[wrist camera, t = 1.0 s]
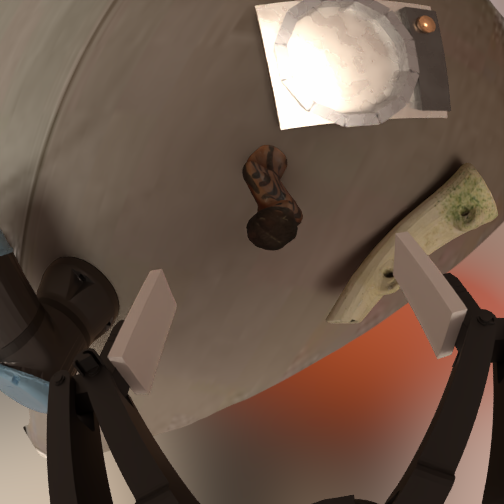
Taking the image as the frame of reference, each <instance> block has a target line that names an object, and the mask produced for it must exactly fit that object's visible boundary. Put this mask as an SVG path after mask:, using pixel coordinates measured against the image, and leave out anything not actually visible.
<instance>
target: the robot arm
mask: <svg viewBox="0 0 504 504" xmlns="http://www.w3.org/2000/svg"><path fill="white" fill-rule="evenodd" d="M393 276H394V277H395V279H396V281H397V282H398V284H399V286H400V288H401V289H402V291H403V293H404V295H405V297H406V298H407V300H408V302H409V304H410V306H411V308H412V309H413V311H414V313H415V315H416V317H417V319H418V321H419V322H420V325H421V326H422V328H423V330H424V332H425V334H426V336H427V338H428V340H429V342H430V344H431V346H432V348H433V350H434V352H435V355H436V357H437V359H439V358H442V357H445V356H448V355H451V354H452V352H453V349H454V346H455V347H456V348H457V350H458V354H457V356H456V359H455V361H454V363H453V366H452V367H453V368H452V371H451V374H450V377H449V380H448V383H447V385H446V388H445V390H444V393H443V396H442V398H441V400H440V403H439V405H438V408H437V410H436V413H435V415H434V417H433V419H432V421H431V424H430V426H429V428H428V430H427V432H426V434H425V436H424V438H423V440H422V442H421V444H420V446H419V448H418V450H417V452H416V454H415V456H414V458H413V459H412V461H411V463H410V465H409V467H408V468H407V470H406V472H405V474H404V475H403V477H402V479H401V480H400V482H399V483H398V485H397V486H396V488H395V489H394V491H393V492H392V493H391V495H390V496H389V498H388V499H387V501H386V503H385V504H444V502H445V500H446V498H447V496H448V494H449V492H450V490H451V488H452V486H453V483H454V480H455V475H454V474H455V471H456V468H457V466H458V463H459V461H460V459H461V457H462V454H463V452H464V449H465V447H466V444H467V441H468V439H469V436H470V433H471V431H472V428H473V424H474V422H475V419H476V416H477V413H478V409H479V406H480V403H481V399H482V396H483V392H484V388H485V384H486V380H487V376H488V372H489V367H490V363H493V384H494V402H493V404H494V405H493V427H492V440H491V450H490V458H489V466H488V472H487V479H486V484H485V490H484V494H483V500H482V504H504V318H496V317H495V315H494V314H493V313H492V312H490V311H488V310H484V309H480V308H479V306H478V305H477V303H476V302H475V300H474V299H473V298H472V296H471V295H470V294H469V292H467V290H466V288H465V287H464V286H463V285H462V283H461V282H460V281H459V280H458V278H457V277H455V276H454V275H452V274H451V273H446V274H442V273H441V272H440V271H439V269H438V268H437V267H436V266H435V264H434V263H433V262H432V260H431V259H430V258H429V257H428V255H427V254H426V253H425V252H424V250H423V249H422V248H421V247H420V246H419V244H418V243H417V242H416V241H415V240H414V238H413V237H412V236H411V235H410V234H409V233H408V231H407V232H401V233H395V253H394V269H393ZM176 308H177V304H176V302H175V300H174V297H173V295H172V292H171V290H170V288H169V285H168V283H167V280H166V278H165V275H164V273H163V270H162V269H157V270H151V271H150V272H149V274H148V276H147V278H146V279H145V281H144V283H143V285H142V287H141V289H140V291H139V293H138V295H137V297H136V299H135V301H134V303H133V305H132V307H131V309H130V311H129V313H128V315H127V317H126V319H125V320H120V321H119V322H118V323H117V324H116V325H115V326H114V327H113V329H112V331H111V333H110V336H109V337H108V340H107V342H106V344H105V346H104V348H103V350H102V352H101V354H100V356H99V355H98V354H97V352H96V351H95V350H94V349H91V348H89V346H90V345H91V344H92V343H93V342H94V341H95V340H97V339H98V338H99V337H100V336H101V335H103V334H104V333H105V332H106V331H108V330H109V329H110V328H111V326H112V325H113V323H114V321H115V319H116V317H117V315H118V312H119V302H118V298H117V295H116V293H115V290H114V289H113V287H112V285H111V284H110V282H109V281H108V280H107V279H106V277H105V276H104V275H103V274H102V273H101V272H100V271H98V270H97V269H96V268H95V267H93V266H92V265H90V264H89V263H87V262H85V261H83V260H80V259H77V258H72V257H63V258H59V259H57V260H55V261H54V262H53V263H52V264H51V265H50V266H49V267H48V268H47V270H46V271H45V273H44V274H43V277H42V280H41V283H40V286H39V289H38V291H37V295H36V294H35V292H34V291H33V289H32V287H31V285H30V284H29V282H28V280H27V278H26V276H25V275H24V273H23V271H22V269H21V267H20V265H19V263H18V261H17V259H16V257H15V255H14V253H13V248H11V247H10V245H9V243H8V242H7V240H6V238H5V236H4V234H3V232H2V230H1V228H0V390H1V391H2V392H3V393H4V394H6V395H7V396H9V397H10V398H12V399H13V400H15V401H16V402H18V403H20V404H21V405H23V406H25V407H27V408H29V409H32V410H34V411H37V412H41V413H46V414H47V468H48V483H49V495H50V504H113V501H112V497H111V493H110V488H109V483H108V478H107V473H106V467H105V462H104V456H103V449H102V442H101V435H100V427H101V430H102V432H103V434H104V437H105V439H106V441H107V444H108V446H109V448H110V450H111V452H112V455H113V457H114V459H115V461H116V463H117V465H118V467H119V469H120V471H121V473H122V475H123V477H124V479H125V481H126V483H127V485H128V486H129V488H130V490H131V492H132V494H133V495H134V497H135V499H136V503H135V504H200V503H199V502H198V501H197V500H196V498H195V497H194V496H193V494H192V493H191V492H190V490H189V489H188V488H187V486H186V485H185V484H184V482H183V481H182V480H181V478H180V477H179V475H178V474H177V472H176V471H175V470H174V468H173V467H172V465H171V464H170V462H169V461H168V459H167V458H166V456H165V455H164V453H163V452H162V450H161V449H160V447H159V445H158V444H157V442H156V441H155V439H154V438H153V436H152V434H151V433H150V431H149V429H148V428H147V426H146V424H145V422H144V421H143V419H142V417H141V415H140V414H139V412H138V410H137V408H136V406H135V405H134V403H133V401H132V399H131V397H130V396H129V395H128V391H129V388H131V390H132V391H133V392H134V393H135V394H139V395H149V393H150V390H151V386H152V383H153V380H154V376H155V373H156V370H157V366H158V363H159V360H160V357H161V354H162V351H163V347H164V344H165V341H166V338H167V335H168V332H169V329H170V326H171V323H172V320H173V317H174V314H175V311H176ZM88 348H89V349H88ZM77 371H78V372H79V374H78V375H76V373H77ZM99 425H100V427H99ZM313 504H377V503H375V502H372V501H368V500H361V499H354V495H349V496H344V497H338V498H332V499H325V500H322V501H319V502H316V503H313Z"/></svg>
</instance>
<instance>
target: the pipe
mask: <svg viewBox="0 0 504 504" xmlns="http://www.w3.org/2000/svg"><path fill="white" fill-rule="evenodd" d="M497 215H498V211H497V208H496V204H495V201H494V199H493V196H492V194H491V192H490V190H489V189H488V187H487V185H486V183H485V182H484V180H483V178H482V177H481V175H480V174H479V173H478V172H477V170H476V169H475V168H474V167H473V165H472V164H470V163H465V164H463V165H462V166H461V167H460V168H459V169H458V171H457V172H456V173H455V174H454V175H453V176H452V177H451V178H450V179H449V180H448V181H447V182H446V183H445V184H444V185H443V186H441V187H440V188H439V189H438V190H437V191H435V192H434V193H433V194H432V195H431V196H430V197H428V198H427V199H426V200H425V201H424V202H422V203H421V204H420V205H419V206H418V207H416V208H415V209H414V210H413V211H412V212H410V213H409V214H408V215H407V216H406V217H404V218H403V219H402V220H401V221H400V222H399V223H398V224H397V225H396V226H395V227H394V228H393V229H392V230H391V231H390V232H389V233H388V234H387V235H386V236H385V237H384V238H383V239H382V240H381V241H380V242H379V243H378V244H377V245H376V246H375V247H374V249H373V250H372V251H371V252H370V253H369V255H368V256H367V257H366V258H365V260H364V261H363V262H362V264H361V265H360V266H359V268H358V269H357V270H356V272H355V273H354V274H353V275H352V277H351V278H350V280H349V282H348V283H347V285H346V287H345V288H344V290H343V292H342V293H341V295H340V297H339V298H338V300H337V302H336V303H335V305H334V306H333V308H332V310H331V312H330V313H329V315H328V317H327V318H326V321H327V322H329V323H332V324H335V323H347V324H354V323H360V322H361V321H362V320H363V319H364V318H365V316H366V315H367V314H368V313H369V312H370V310H371V309H372V308H373V307H374V306H375V305H376V303H377V302H378V301H379V300H380V299H381V298H382V297H383V295H386V294H391V293H394V292H396V291H397V290H398V289H399V288H400V286H399V284H398V282H397V281H396V279H395V277H394V276H393V269H394V253H395V233H401V232H407V231H408V233H409V234H410V235H411V236H412V237H413V238H414V240H415V241H416V242H417V243H418V244H419V246H420V247H421V248H422V249H423V250H424V252H425V253H426V254H427V255H429V254H431V253H432V252H434V251H435V250H437V249H438V248H440V247H441V246H443V245H444V244H446V243H448V242H449V241H451V240H453V239H454V238H456V237H458V236H460V235H461V234H463V233H466V232H468V231H470V230H472V229H475V228H477V227H478V226H481V225H483V224H485V223H488V222H490V221H492V220H494V219H495V218H496V217H497Z"/></svg>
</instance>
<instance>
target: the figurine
mask: <svg viewBox="0 0 504 504" xmlns="http://www.w3.org/2000/svg"><path fill="white" fill-rule="evenodd" d="M286 167H287V159H286V157H285V155H284V154H283V153H282V152H281V151H280V150H279V149H277V148H275V147H274V146H271V145H264V146H261V147H260V148H258V149H257V150H256V151H255V152H254V153H253V154H252V155H251V156H250V157H249V159H248V161H247V163H246V164H245V165H244V167H243V170H242V174H243V177H244V180H245V181H246V183H247V185H248V187H249V189H250V191H251V193H252V195H253V197H254V198H255V200H256V202H257V204H258V212H257V213H256V214H255V215H254V216H253V217H252V218H251V219H250V220H249V222H248V224H247V227H246V228H247V233H248V238H249V240H250V241H251V242H252V243H253V244H254V245H255V246H257V247H259V248H263V249H265V250H278V249H281V248H283V247H284V246H285V245H286V244H287V243H288V242H290V241H292V240H293V239H294V238H295V237H296V234H297V226H298V225H299V224H300V223H301V221H302V218H303V215H302V212H301V210H300V208H299V207H298V205H297V204H296V202H295V200H294V199H293V198H292V197H291V196H290V194H289V193H288V191H287V190H286V189H285V187H284V186H283V184H282V182H281V180H280V178H281V177H282V175H283V173H284V171H285V169H286Z"/></svg>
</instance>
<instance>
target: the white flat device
mask: <svg viewBox="0 0 504 504" xmlns="http://www.w3.org/2000/svg"><path fill="white" fill-rule="evenodd" d="M255 11H256V18H257V22H258V27H259V31H260V35H261V40H262V44H263V49H264V53H265V58H266V63H267V68H268V72H269V77H270V82H271V87H272V92H273V97H274V102H275V108H276V113H277V118H278V124H279V127H280V129H281V130H283V129H289V128H296V127H304V126H312V125H320V124H329V123H336V124H338V125H341V126H344V127H352V126H364V125H378V124H379V123H381V124H382V123H383V122H385V121H386V120H387V119H395V118H447V111H451V107H450V95H449V85H448V76H447V69H446V62H445V56H444V50H443V44H442V39H441V34H440V29H439V24H438V20H437V16H436V12H435V11H432V10H431V7H430V6H424V5H418V4H411V3H402V2H393V1H381V0H302V1H290V2H281V3H272V4H265V5H258V6H255Z"/></svg>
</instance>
